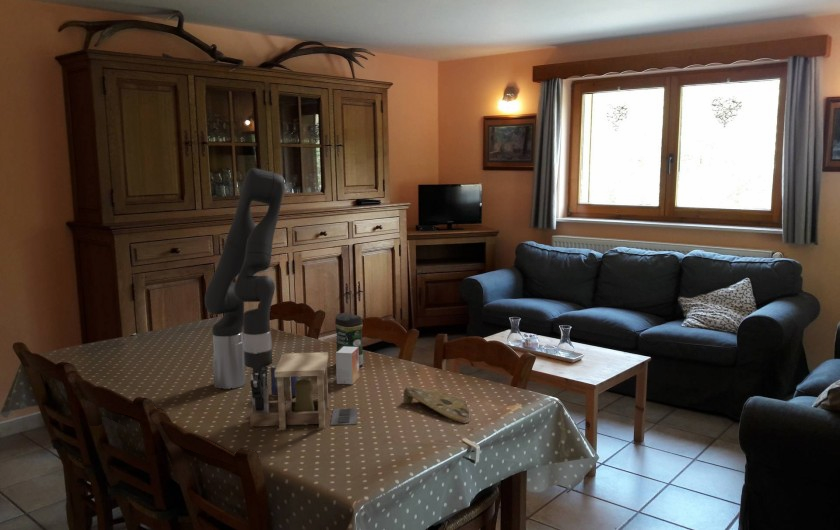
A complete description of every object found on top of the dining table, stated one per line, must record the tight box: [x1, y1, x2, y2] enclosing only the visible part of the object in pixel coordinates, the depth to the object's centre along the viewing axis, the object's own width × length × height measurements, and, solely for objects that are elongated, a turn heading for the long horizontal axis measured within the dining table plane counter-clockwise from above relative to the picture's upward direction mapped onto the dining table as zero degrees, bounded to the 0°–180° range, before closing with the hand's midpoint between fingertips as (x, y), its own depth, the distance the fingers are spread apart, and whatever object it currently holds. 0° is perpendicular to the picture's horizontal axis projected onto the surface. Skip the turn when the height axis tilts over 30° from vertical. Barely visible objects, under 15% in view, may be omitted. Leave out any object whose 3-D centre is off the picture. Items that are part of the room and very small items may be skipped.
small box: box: [335, 346, 360, 385], centre depth 219 cm, size 8×6×10 cm
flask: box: [270, 363, 300, 398], centre depth 205 cm, size 9×3×11 cm, turn 74°
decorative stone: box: [402, 386, 470, 423], centre depth 194 cm, size 25×15×5 cm, turn 39°
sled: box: [249, 384, 327, 427], centre depth 186 cm, size 20×11×9 cm, turn 94°
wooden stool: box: [274, 351, 358, 431], centre depth 186 cm, size 21×17×16 cm
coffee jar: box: [334, 312, 364, 368], centre depth 235 cm, size 10×8×19 cm
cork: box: [294, 378, 315, 412], centre depth 186 cm, size 6×6×11 cm
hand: (260, 407), depth 186 cm, fingers closed on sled, 3 cm apart
